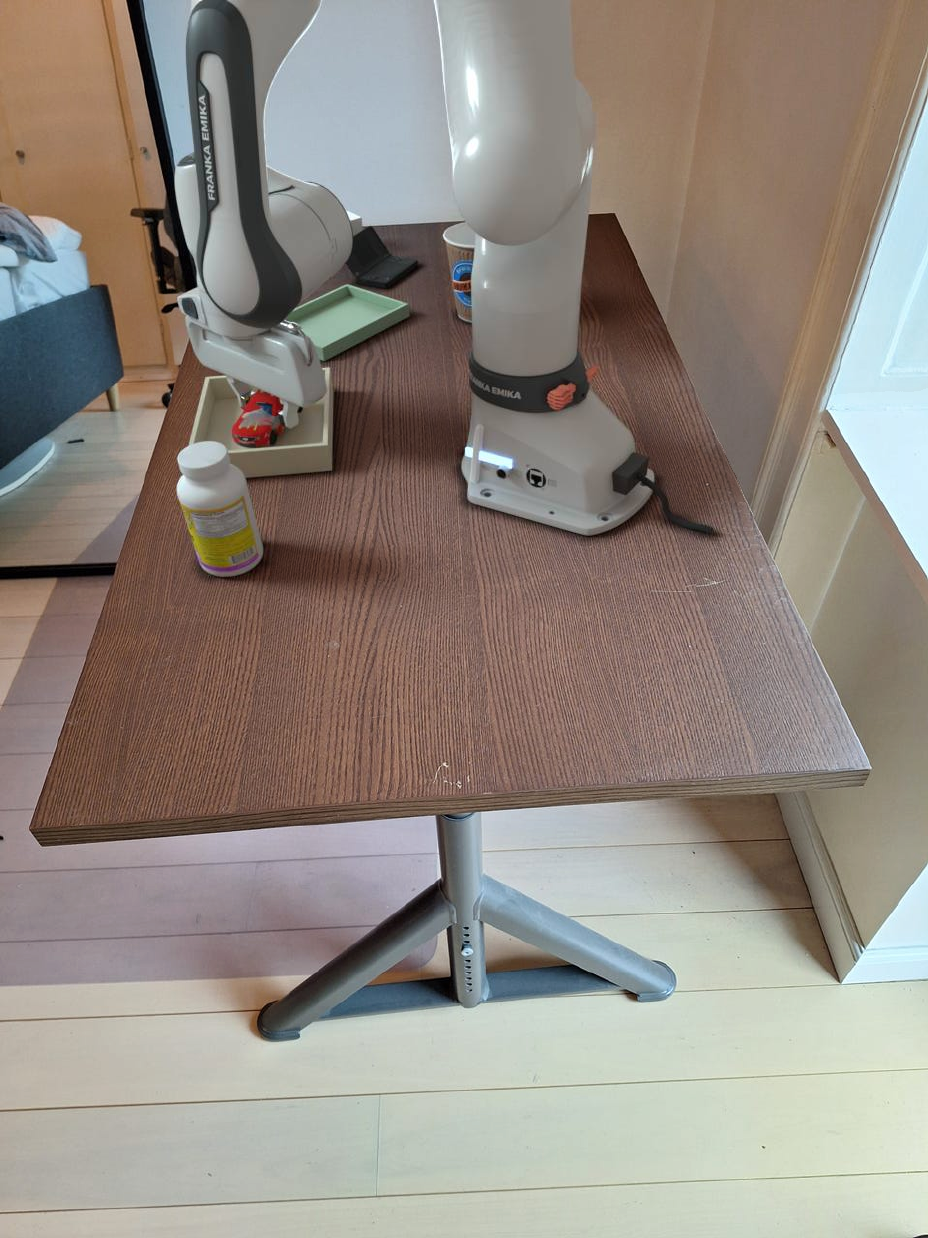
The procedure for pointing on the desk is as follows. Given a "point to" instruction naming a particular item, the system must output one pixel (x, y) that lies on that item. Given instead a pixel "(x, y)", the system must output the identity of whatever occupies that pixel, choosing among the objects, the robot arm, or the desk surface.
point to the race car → (259, 421)
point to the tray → (346, 318)
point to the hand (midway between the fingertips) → (269, 415)
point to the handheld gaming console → (376, 261)
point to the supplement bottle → (218, 510)
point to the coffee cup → (461, 266)
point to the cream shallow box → (294, 446)
